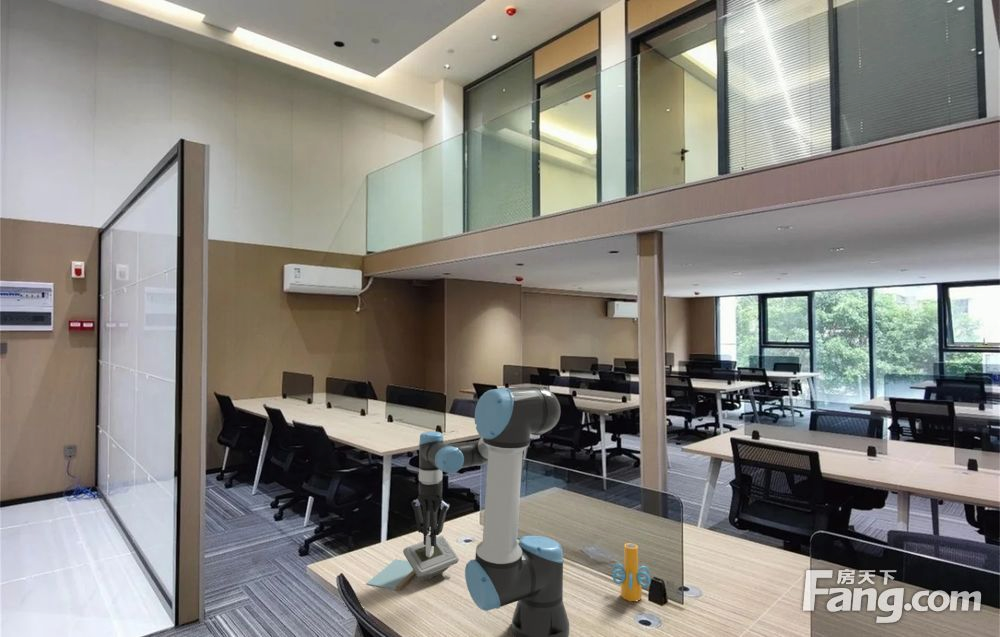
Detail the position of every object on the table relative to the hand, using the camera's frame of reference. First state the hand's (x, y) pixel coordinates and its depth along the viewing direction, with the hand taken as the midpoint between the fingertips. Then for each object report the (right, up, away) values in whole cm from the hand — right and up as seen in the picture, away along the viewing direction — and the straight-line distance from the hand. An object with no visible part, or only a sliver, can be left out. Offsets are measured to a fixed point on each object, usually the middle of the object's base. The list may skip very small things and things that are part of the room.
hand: (429, 555), depth 157 cm
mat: (-11, -7, +2) cm, 13 cm away
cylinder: (+62, -8, -10) cm, 63 cm away
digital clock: (+3, -5, -2) cm, 6 cm away
